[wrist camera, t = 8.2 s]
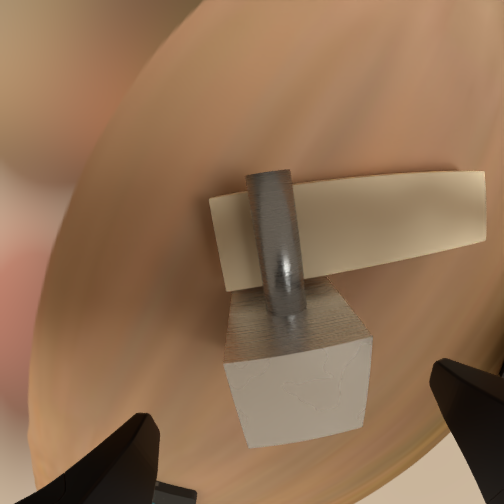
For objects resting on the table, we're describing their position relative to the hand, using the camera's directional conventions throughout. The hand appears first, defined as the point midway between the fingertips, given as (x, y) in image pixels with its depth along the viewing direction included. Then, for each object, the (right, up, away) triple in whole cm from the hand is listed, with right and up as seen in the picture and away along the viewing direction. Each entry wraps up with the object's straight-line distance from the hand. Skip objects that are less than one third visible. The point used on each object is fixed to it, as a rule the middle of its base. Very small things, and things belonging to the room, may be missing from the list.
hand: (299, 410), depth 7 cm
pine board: (+4, +6, +5) cm, 9 cm away
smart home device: (-13, -25, +13) cm, 31 cm away
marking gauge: (0, +4, +6) cm, 7 cm away
